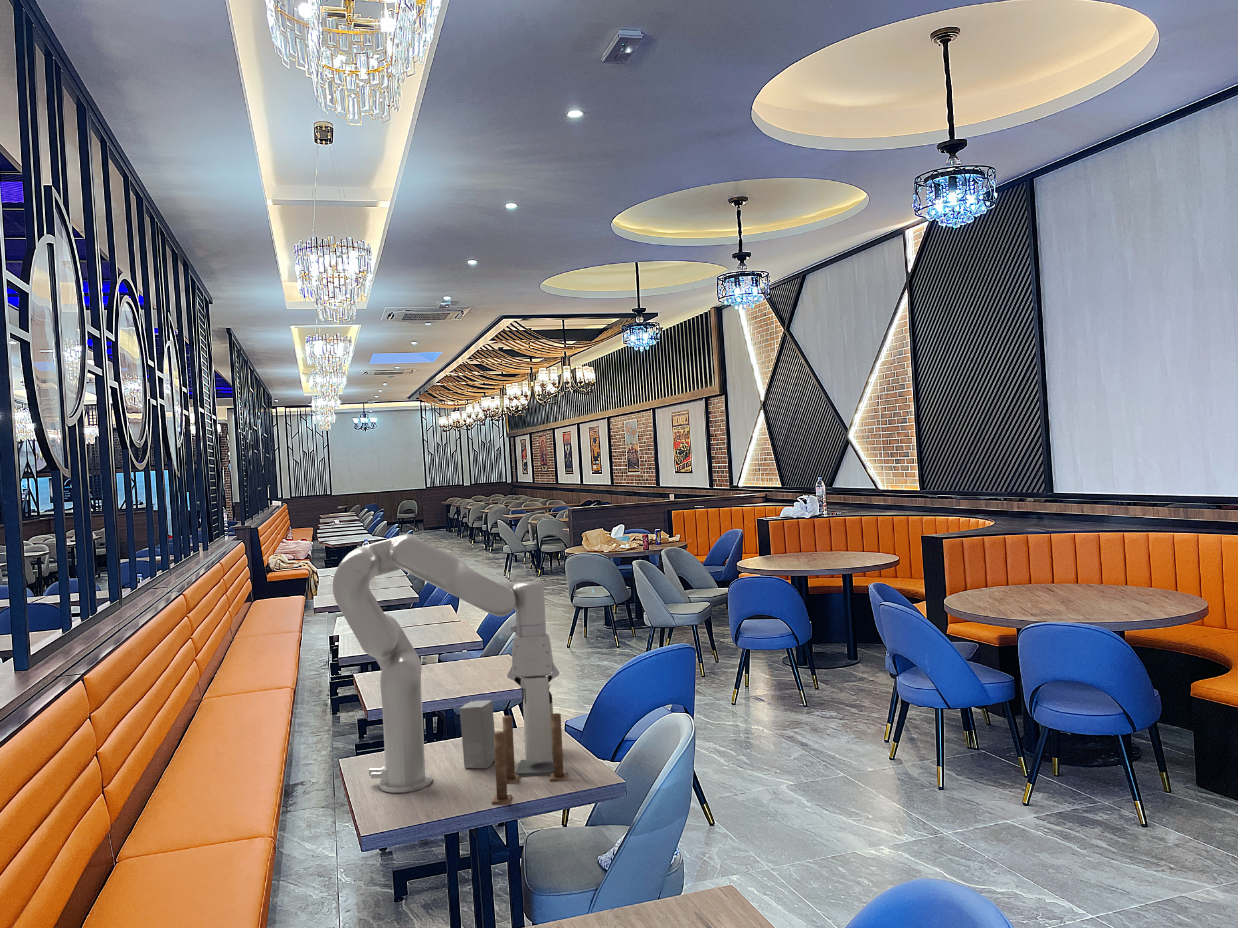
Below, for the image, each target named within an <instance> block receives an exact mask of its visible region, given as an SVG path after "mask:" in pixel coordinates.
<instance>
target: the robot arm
mask: <svg viewBox="0 0 1238 928" xmlns="http://www.w3.org/2000/svg"><path fill="white" fill-rule="evenodd" d="M399 570H401V571H403V572H406V573H407V574H409V575H412V576H413V577H414V576H415V577H417V578H418V579H421V580H423V581H424V582H427V583H429V584H431V585H433V586H435V587H436V588H439V589H441V590H442V591H444V592H446V593H448V594H450V595H451V596H454V597H456V598H458V599H460V600H462V601H463V602H466V603H468V604H469V605H472V606H473V607H475V608H478V609H480V610H482V611H484V612H486V613H488V614H490V615H492V616H494V617H505V616H508V615H510V614H511V613H512V612H513V611H515V625H513V626H510V632H511V633H515V634H516V635H515V636H514V637H513V640H512V647H511V648H512V649H511V651H512V652H511V668H510V669H509V671H508V674H507V675H506V676H507V679H510V680H512V681H514V682H515V683H516V684H517V685H518V686H520V688H521V694H522V695H521V696H522V697H521V698H522V701H523V700H524V693H525V688H524V678H526V677H532V676H540V677H542V678H548V683H550V682H551V681H552V680H553V679H555V678H556V677H559V675H560V671H559V669H558V668H557V666H556V665H555V663H554V661H553V660H554V659H553V649H552V643H551V639H550V635H549V633H547V626H546V622H547V621H546V604H545V587H544V584H543V583H542V582H540V581H536V580H532V581H531V580H528V581H522V582H504V581H503V582H501V581H500V582H499V581H498V582H496V581H495V580H491V579H490V578H488V577H486V576H484V575H483V574H480V573H479V572H477V571H475V570H474V569H472V568H471V567H469V566H468V565H467V564H466V563H465V562H464V561H462V560H460V559H459V558H457V557H455V556H453V555H451V554H449V553H447V552H445V551H443V550H441V549H439V548H436V547H435V546H432V545H431V544H428V543H426V542H424V541H423V540H422V539H421V538H420V537H418V536H417V535H415V534H411V533H409V534H408V533H406V534H401V535H398V536H395V537H392V538H388V539H386V540H381V541H377V542H374V543H370V544H366V545H361V546H359V547H356V548H355V549H353V550H352V551H350V552H348V553H347V554H346V555H345V556H344V557H343V559H342V560H341V562H340V563H339V564H338V566H337V568H336V570H335V572H334V574H333V579H332V595H333V597H334V600H335V602H336V604H337V606H338V608H339V610H340V612H341V613H342V615H343V617H344V619H345V620H346V622H347V624H348V626H349V628H350V629H351V631H352V633H353V635H354V636H355V638H356V640H357V642H358V643H359V645H360V647H361V649H362V651H363V652H364V653H366V654H367V655H368V656H370V657H372V658H374V659H375V661H376V662H377V664H378V666H379V667H380V668H381V673H380V678H379V679H380V680H379V683H380V696H381V707H382V708H381V710H382V724H383V741H384V742H383V744H384V745H383V746H384V747H383V748H384V766H382V767H379V768H378V767H370V768H369V770H368V775H369V777H370V779H372V780H373V779H380V781H379V789H380V790H381V791H383V792H386V793H391V794H392V793H393V794H394V793H395V794H396V793H397V794H400V793H402V794H403V793H408V792H413V791H417V790H421V789H423V788H425V787H427V786H428V785H430V784H431V783H432V780H433V776H432V774H431V773H430V772H428V771H426V759H425V740H424V739H425V737H424V720H423V719H424V718H423V702H422V701H423V700H422V668H423V667H422V661H421V658H420V656H419V655H418V653H417V651H416V650H415V648H414V647H413V645H412V643H411V642H410V640H409V638H408V636H407V634H405V632H404V630H403V628H402V627H401V625H400V624H399V622H398V621H397V620H396V619H395V618H394V617H393V616H392V615H389V614H385V612H384V610H383V609H382V608H381V606H380V604H379V602H378V600H377V598H376V596H375V595H374V593H373V592H372V590H371V588H370V582H371V580H373V578H375V577H379V576H382V575H385V574H389V573H392V572H393V573H394V572H396V571H399ZM523 688H524V692H523ZM525 704H526V693H525Z"/></svg>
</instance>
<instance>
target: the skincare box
mask: <svg viewBox="0 0 1238 928" xmlns="http://www.w3.org/2000/svg"><path fill="white" fill-rule="evenodd" d="M493 704H494V703H493V700H491V699H489V700H488V699H487V700H471V701H469V702H467V703H465V704H464V705H463V706H461V707H459V715H460V716H459V717H460V718H459V719H460V729H461V741H462V753H463V754H462V755H463V766H464V768H465V769H488V768H489V767H490V765H492V764H493V762H494V763H495V747H494V733H495V732H496V730H495V719H494V708H493V707H494V705H493Z"/></svg>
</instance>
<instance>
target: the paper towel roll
mask: <svg viewBox="0 0 1238 928" xmlns="http://www.w3.org/2000/svg"><path fill="white" fill-rule="evenodd" d="M524 688H525V693H526V704H525V693H524V700H523V699H522V710H523V709H524V714H523V727H524V729H523V730H525V735H524V751H526V752H525V760H528V761H536V762H542V761H552V758H553V751H552V746H551V725H550V704H549V691H550V689H549V684H548V678H542V677H540V676H532V677H526V678H524ZM524 688H523V692H524Z"/></svg>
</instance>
